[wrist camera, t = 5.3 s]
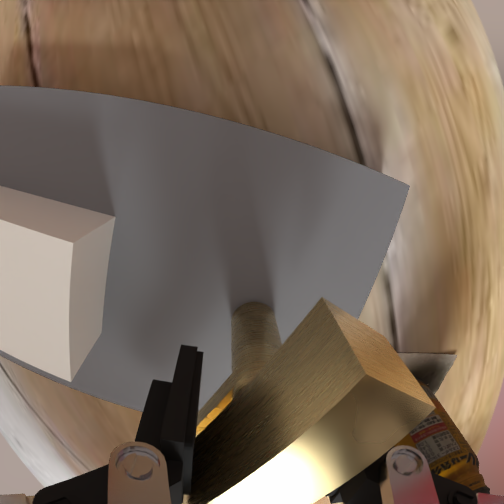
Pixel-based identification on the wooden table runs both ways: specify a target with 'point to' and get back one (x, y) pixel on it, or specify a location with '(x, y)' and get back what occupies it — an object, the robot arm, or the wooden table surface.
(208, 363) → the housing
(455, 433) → the condiment
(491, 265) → the wooden table surface
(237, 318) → the key
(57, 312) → the white rectangular block
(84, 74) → the wooden table surface
